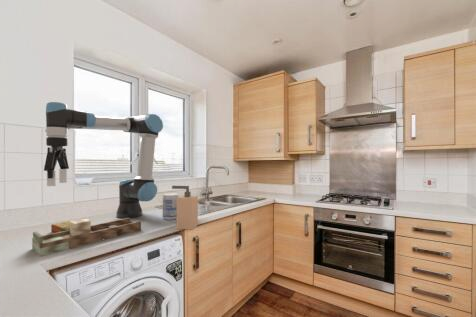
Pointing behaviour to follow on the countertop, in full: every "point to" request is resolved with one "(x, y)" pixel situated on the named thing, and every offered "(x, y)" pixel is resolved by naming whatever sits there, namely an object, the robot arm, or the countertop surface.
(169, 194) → the supplement tub
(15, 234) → the countertop surface
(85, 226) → the block
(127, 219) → the tray
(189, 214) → the soap dispenser
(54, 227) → the carton
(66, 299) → the countertop surface
